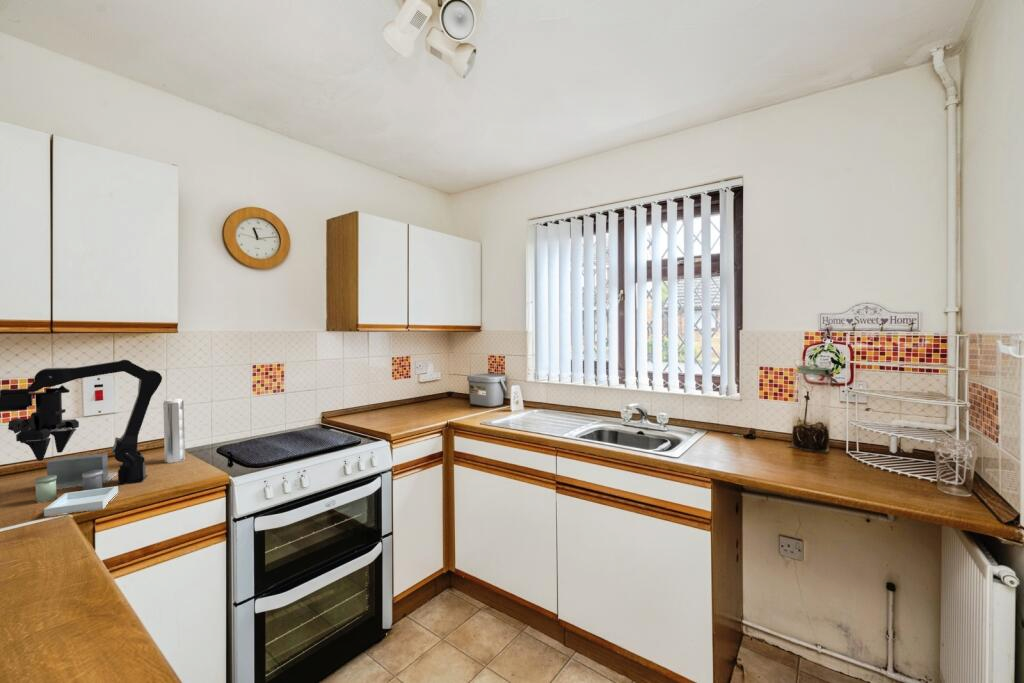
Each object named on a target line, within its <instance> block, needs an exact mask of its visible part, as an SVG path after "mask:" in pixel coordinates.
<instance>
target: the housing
mask: <svg viewBox="0 0 1024 683" xmlns="http://www.w3.org/2000/svg"><path fill="white" fill-rule="evenodd" d="M108 458H109V456H108V452H102V453H92V454H83V455H74V456H73V455H72V456H65V457H54V458H52V459H50V460H48V461H47V462H46V476H50V475H56V476H57V480H56V490H62V489H63V488H64V489H71V488H77V487H76V486H79V487H83V478H82V474H83V473H85V472H88V471H93V470H103V474H102V484H105V483H104V482H109V481H110V480H111V479H112V478H113V477H114V476H116V475H117V476H118V471H117V472H116V471H115V472H109V461H108V460H109V459H108ZM117 476H116V477H117ZM114 478H115V477H114ZM114 478H113V479H114ZM113 479H112V480H113ZM112 480H111V481H112ZM111 481H110V482H111ZM110 482H109V483H110ZM70 487H71V488H70ZM64 489H63V490H64Z"/></svg>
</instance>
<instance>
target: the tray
mask: <svg viewBox="0 0 1024 683" xmlns="http://www.w3.org/2000/svg"><path fill="white" fill-rule="evenodd" d="M117 493H118V494H119V486H118V485H116V486H110V487H109V486H108V487H102V488H100V489H92V490H85V491H84V490H80V491H78V490H77V491H71V492H64V493H63V494H62V495H61V496H59V497H58V498H56V499H54V500H53V502H51V504H49V505H48V506H46V507H45V508H43V517H44V516H48V515H53V514H59V513H72V512H77V511H87V512H93V511H100V510H104V509H105V508H106V507H107V506H108V505H109V504H108V502H109V501H110V500H111V499H112V498H113V497H114V496H115V495H116V494H117ZM118 494H117V495H118ZM117 495H116V496H117ZM116 496H115V497H116ZM115 497H114V498H115ZM114 498H113V499H114ZM113 499H112V500H113ZM112 500H111V501H112ZM107 504H108V505H107ZM106 505H107V506H106ZM88 510H89V511H88Z"/></svg>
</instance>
